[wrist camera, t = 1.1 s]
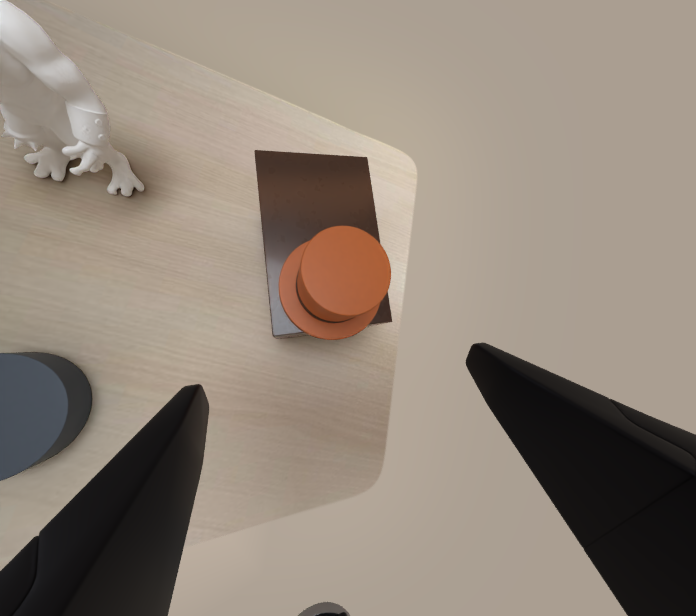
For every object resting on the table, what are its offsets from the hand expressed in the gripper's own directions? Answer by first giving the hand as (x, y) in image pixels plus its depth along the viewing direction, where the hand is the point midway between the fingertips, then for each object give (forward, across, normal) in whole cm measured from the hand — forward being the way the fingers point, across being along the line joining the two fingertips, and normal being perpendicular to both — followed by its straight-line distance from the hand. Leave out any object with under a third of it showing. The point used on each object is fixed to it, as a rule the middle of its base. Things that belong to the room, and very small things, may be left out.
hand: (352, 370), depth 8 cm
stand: (+13, +23, +12) cm, 30 cm away
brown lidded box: (+20, -1, +5) cm, 21 cm away
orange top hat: (+11, -1, +2) cm, 11 cm away
